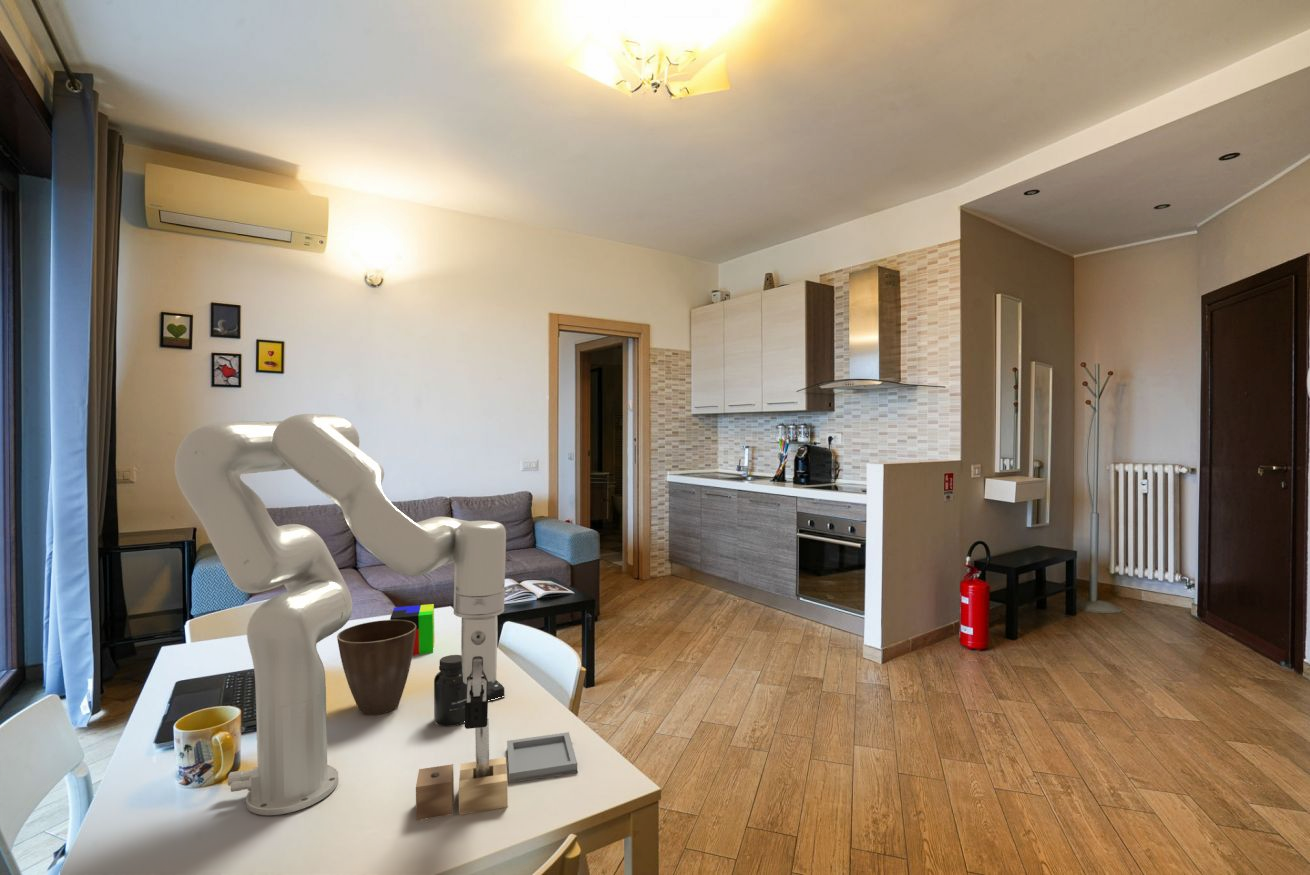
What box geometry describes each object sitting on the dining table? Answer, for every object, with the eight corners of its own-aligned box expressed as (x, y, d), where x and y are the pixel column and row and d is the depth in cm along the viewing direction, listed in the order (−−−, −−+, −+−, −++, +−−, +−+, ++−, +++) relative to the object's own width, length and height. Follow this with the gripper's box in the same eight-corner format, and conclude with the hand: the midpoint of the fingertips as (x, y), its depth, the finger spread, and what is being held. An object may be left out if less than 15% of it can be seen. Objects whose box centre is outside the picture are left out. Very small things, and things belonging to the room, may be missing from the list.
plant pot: (321, 715, 125) (320, 636, 125) (382, 687, 138) (381, 615, 138) (375, 730, 119) (373, 646, 118) (433, 699, 132) (431, 624, 132)
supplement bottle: (459, 728, 119) (458, 666, 119) (427, 725, 120) (426, 664, 120) (477, 712, 126) (476, 653, 125) (446, 710, 127) (445, 651, 127)
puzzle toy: (394, 644, 166) (394, 607, 166) (434, 640, 169) (433, 603, 169) (390, 657, 157) (390, 618, 157) (433, 653, 160) (432, 614, 160)
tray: (509, 782, 100) (509, 773, 100) (507, 749, 111) (507, 740, 111) (577, 772, 103) (577, 763, 103) (569, 740, 114) (568, 732, 114)
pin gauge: (489, 800, 96) (488, 722, 96) (476, 802, 95) (475, 724, 95) (489, 792, 98) (488, 716, 97) (476, 795, 97) (475, 718, 97)
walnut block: (416, 820, 91) (415, 786, 91) (419, 801, 96) (419, 768, 96) (452, 814, 92) (451, 781, 92) (453, 795, 97) (453, 763, 97)
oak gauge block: (459, 814, 92) (458, 788, 92) (460, 788, 99) (460, 763, 99) (507, 806, 94) (507, 780, 94) (506, 781, 101) (505, 757, 101)
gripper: (506, 617, 89) (502, 737, 89) (502, 586, 105) (500, 687, 106) (450, 620, 87) (447, 742, 87) (456, 588, 103) (453, 690, 104)
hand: (476, 712), depth 96 cm, fingers open, 9 cm apart
